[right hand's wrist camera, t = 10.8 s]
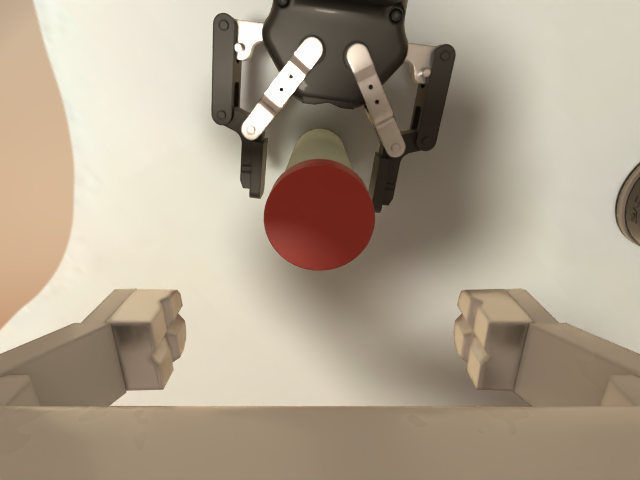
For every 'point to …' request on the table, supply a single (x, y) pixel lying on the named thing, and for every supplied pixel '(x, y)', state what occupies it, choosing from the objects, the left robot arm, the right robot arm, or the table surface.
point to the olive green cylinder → (319, 148)
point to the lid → (319, 215)
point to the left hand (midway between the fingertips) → (315, 202)
